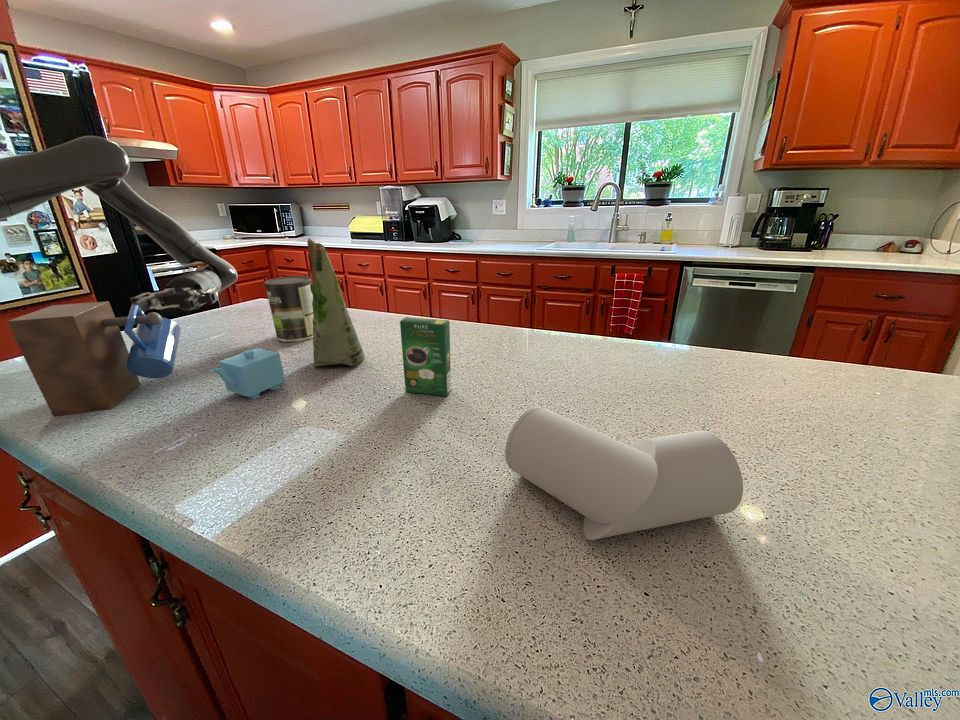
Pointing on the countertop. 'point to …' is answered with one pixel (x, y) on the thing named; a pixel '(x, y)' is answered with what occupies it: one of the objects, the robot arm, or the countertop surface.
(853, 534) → the countertop surface
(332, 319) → the pouch
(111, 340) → the peg box
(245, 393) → the teapot
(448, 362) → the coffee box
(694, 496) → the bent grey cylinder
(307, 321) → the coffee can
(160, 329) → the blue mug
